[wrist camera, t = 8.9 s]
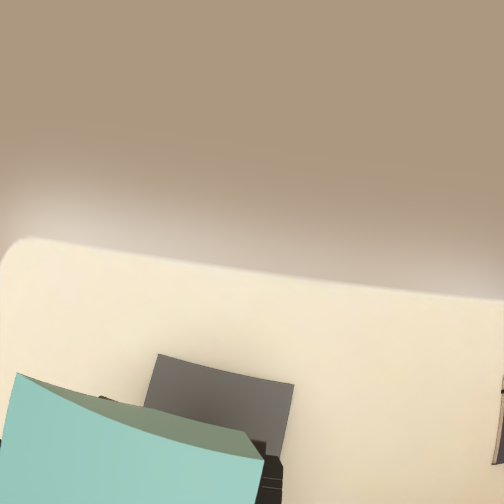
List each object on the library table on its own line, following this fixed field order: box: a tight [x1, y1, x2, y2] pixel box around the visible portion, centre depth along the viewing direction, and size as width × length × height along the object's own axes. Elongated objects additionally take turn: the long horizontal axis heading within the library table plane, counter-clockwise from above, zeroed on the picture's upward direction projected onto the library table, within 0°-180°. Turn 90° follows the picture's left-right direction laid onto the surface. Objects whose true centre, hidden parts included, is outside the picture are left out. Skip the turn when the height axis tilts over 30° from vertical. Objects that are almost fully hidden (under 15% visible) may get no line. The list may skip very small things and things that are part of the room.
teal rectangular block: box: [0, 373, 264, 504], centre depth 8 cm, size 5×5×12 cm
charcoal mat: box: [143, 354, 294, 457], centre depth 26 cm, size 14×12×1 cm
